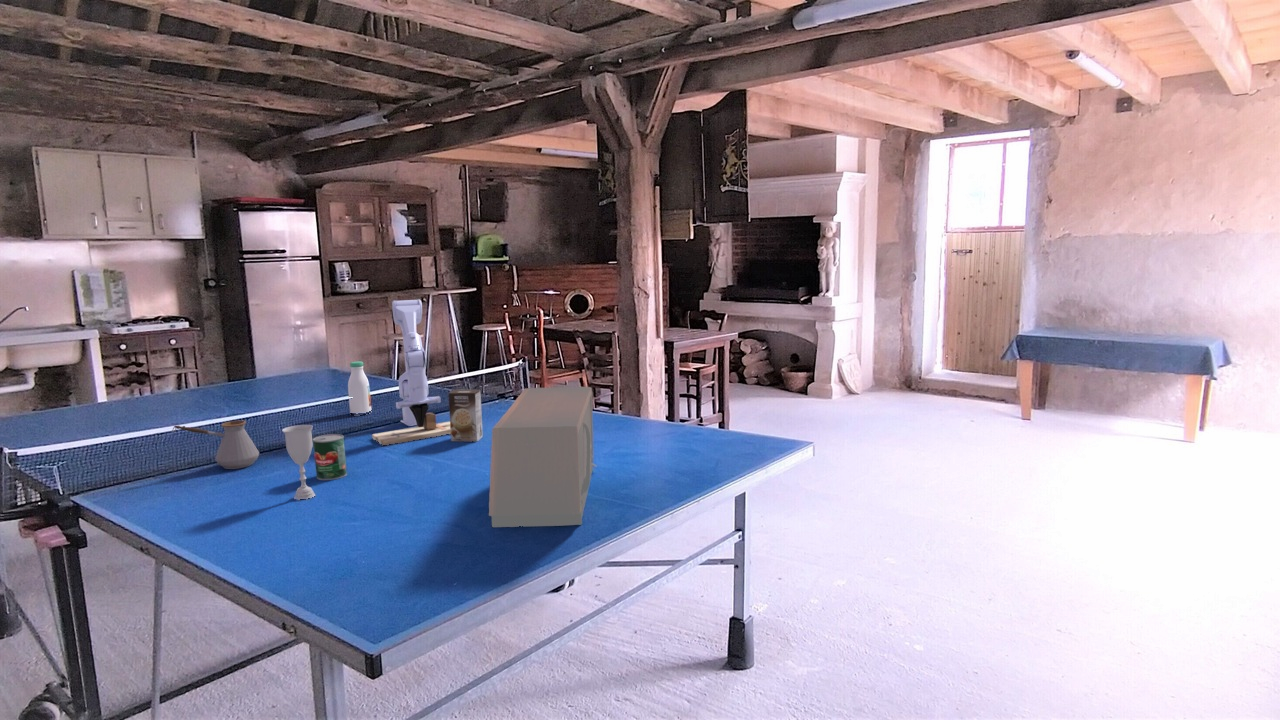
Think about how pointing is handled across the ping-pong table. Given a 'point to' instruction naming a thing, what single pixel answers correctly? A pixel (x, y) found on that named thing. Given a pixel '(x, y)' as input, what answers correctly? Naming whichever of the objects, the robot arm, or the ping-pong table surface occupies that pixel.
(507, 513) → the vintage radio
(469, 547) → the ping-pong table surface
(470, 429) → the coffee box
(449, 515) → the ping-pong table surface
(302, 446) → the chalice
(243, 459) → the coffee pot
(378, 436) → the fader panel
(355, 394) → the milk bottle
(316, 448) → the canned tomato
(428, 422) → the fader knob
